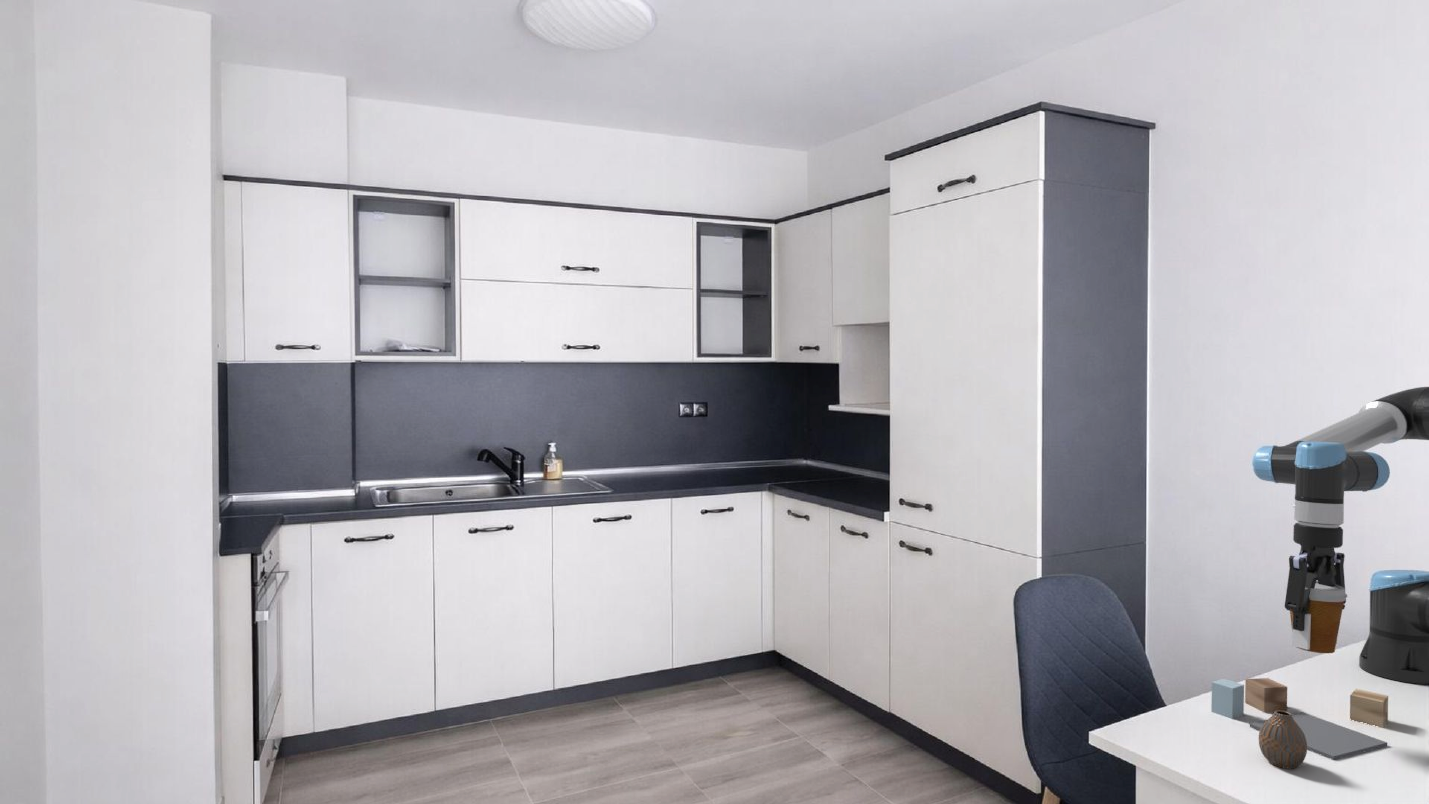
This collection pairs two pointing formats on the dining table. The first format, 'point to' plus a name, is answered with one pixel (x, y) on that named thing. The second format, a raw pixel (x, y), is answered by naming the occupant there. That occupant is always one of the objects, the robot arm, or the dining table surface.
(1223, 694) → the block
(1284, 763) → the vase
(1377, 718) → the block
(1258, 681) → the block
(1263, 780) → the dining table surface
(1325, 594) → the disposable coffee cup
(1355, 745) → the mat
